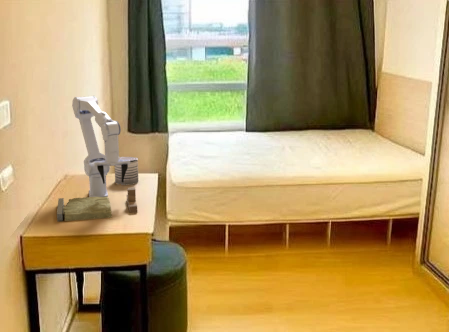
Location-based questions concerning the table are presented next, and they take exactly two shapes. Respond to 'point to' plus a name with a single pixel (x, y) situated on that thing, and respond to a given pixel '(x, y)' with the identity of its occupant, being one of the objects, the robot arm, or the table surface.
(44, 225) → the table surface
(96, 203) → the decorative tile
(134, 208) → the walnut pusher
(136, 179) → the can
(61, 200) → the stop rail
